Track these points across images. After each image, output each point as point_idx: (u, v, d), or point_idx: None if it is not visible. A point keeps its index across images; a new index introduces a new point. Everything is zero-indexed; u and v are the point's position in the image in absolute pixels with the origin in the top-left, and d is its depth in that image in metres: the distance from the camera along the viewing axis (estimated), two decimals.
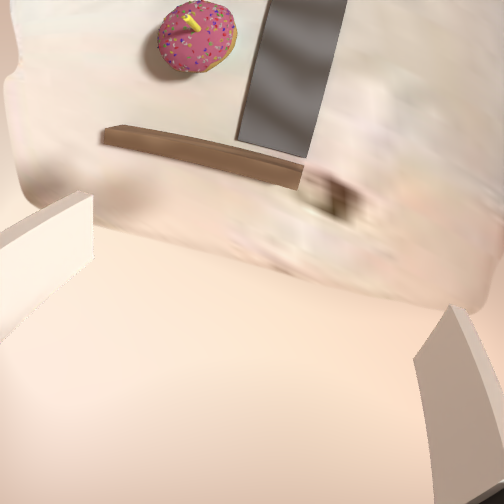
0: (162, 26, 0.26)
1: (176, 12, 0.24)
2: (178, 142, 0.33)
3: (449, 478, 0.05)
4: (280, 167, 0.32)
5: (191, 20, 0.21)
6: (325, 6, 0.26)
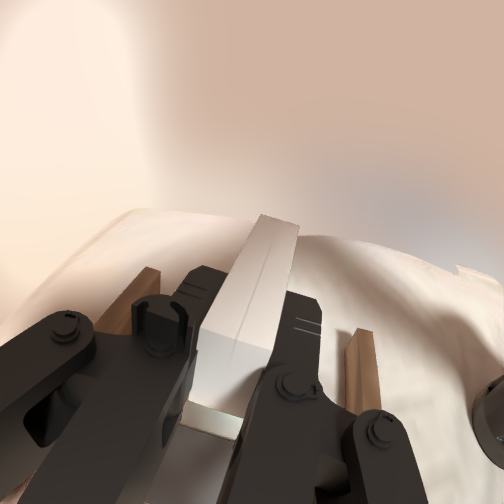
0: None
1: None
2: (116, 324, 0.28)
3: None
4: None
5: None
6: None
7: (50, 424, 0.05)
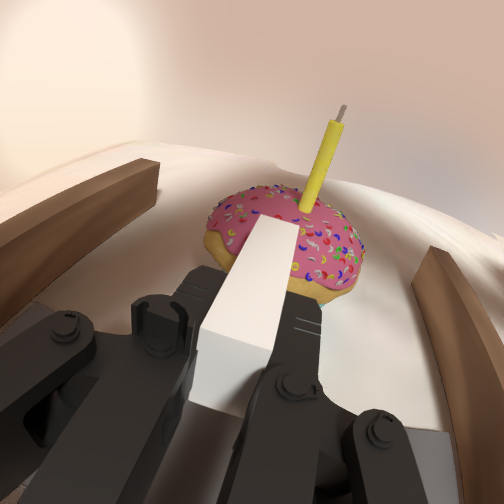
0: None
1: None
2: (82, 199, 0.17)
3: None
4: None
5: (330, 136, 0.12)
6: None
7: (50, 424, 0.05)
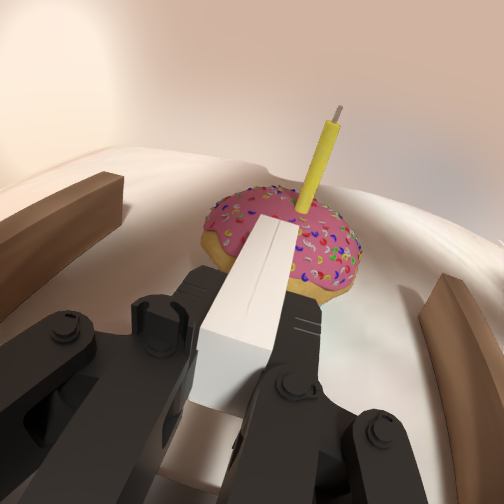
0: None
1: None
2: (19, 231, 0.13)
3: None
4: None
5: (326, 136, 0.12)
6: None
7: (50, 424, 0.05)
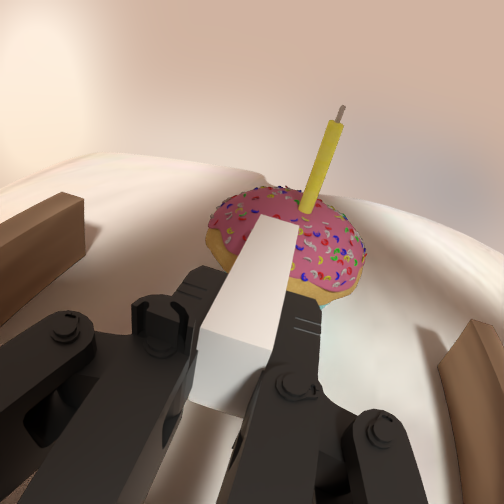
0: None
1: None
2: None
3: None
4: None
5: (329, 136, 0.12)
6: None
7: (50, 424, 0.05)
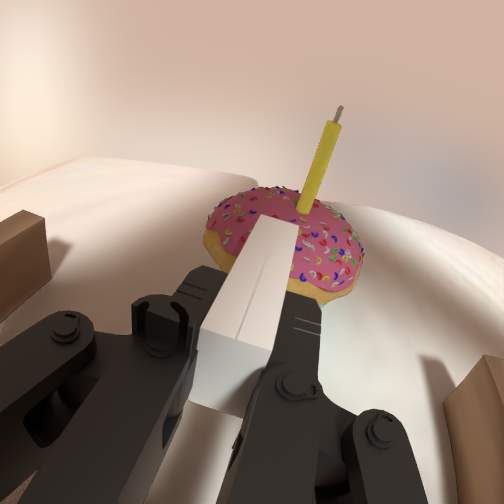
0: None
1: None
2: None
3: None
4: None
5: (327, 136, 0.12)
6: None
7: (50, 424, 0.05)
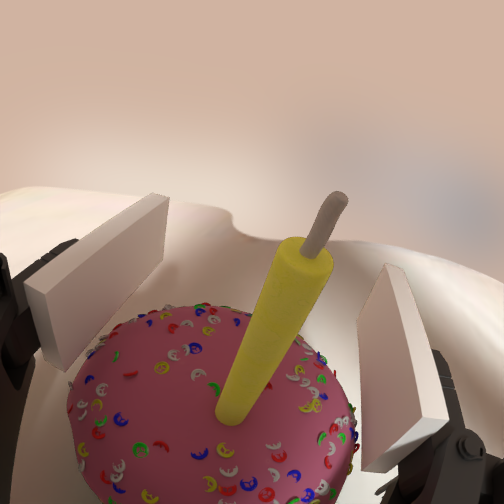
0: None
1: (319, 363, 0.09)
2: None
3: (373, 426, 0.07)
4: None
5: (277, 306, 0.04)
6: None
7: None
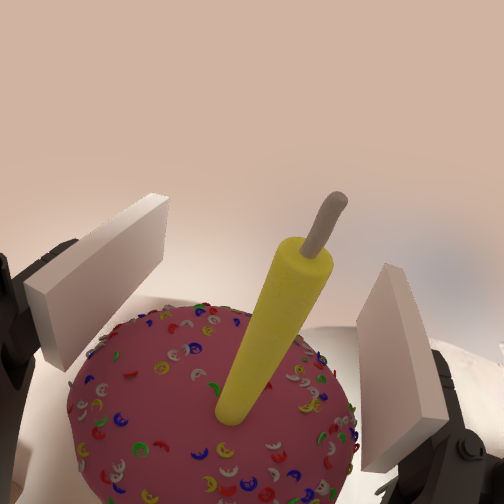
0: None
1: (319, 363, 0.09)
2: None
3: (373, 426, 0.07)
4: None
5: (276, 306, 0.04)
6: None
7: None
